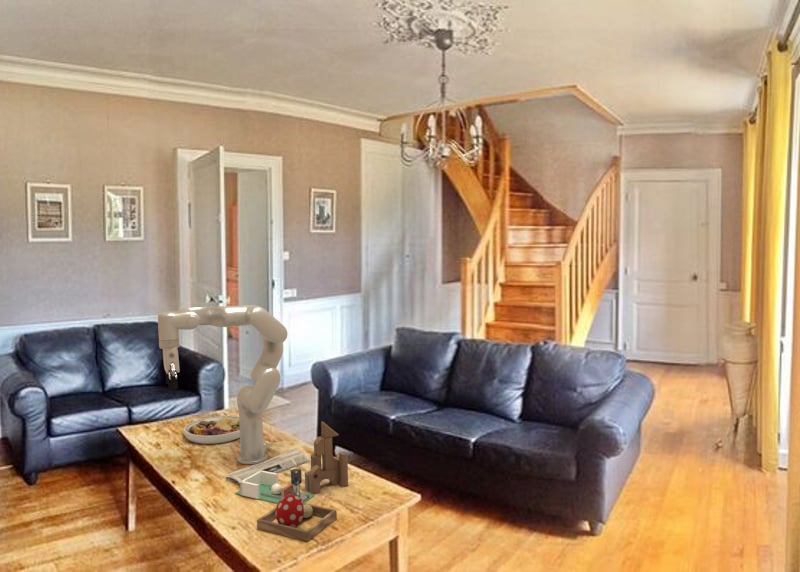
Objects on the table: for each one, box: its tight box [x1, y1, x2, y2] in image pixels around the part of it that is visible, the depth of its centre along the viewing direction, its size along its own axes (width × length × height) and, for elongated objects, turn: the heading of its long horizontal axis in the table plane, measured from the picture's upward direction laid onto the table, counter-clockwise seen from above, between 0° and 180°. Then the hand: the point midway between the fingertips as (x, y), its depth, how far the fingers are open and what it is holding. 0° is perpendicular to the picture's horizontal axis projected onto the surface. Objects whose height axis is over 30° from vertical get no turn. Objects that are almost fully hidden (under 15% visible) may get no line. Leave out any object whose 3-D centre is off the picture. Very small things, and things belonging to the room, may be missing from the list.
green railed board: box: [234, 484, 316, 504], centre depth 232 cm, size 11×28×1 cm, turn 64°
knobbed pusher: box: [281, 468, 307, 501], centre depth 227 cm, size 6×8×10 cm
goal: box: [239, 470, 279, 500], centre depth 235 cm, size 12×8×5 cm, turn 154°
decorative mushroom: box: [275, 494, 313, 528], centre depth 210 cm, size 11×11×15 cm
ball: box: [271, 482, 283, 495], centre depth 231 cm, size 4×4×4 cm
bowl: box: [183, 415, 240, 445], centre depth 300 cm, size 30×30×8 cm
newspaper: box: [225, 447, 311, 486], centre depth 257 cm, size 35×12×4 cm, turn 138°
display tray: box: [256, 502, 337, 542], centre depth 209 cm, size 17×20×3 cm
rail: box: [261, 487, 312, 503], centre depth 230 cm, size 6×18×1 cm, turn 64°
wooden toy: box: [304, 421, 349, 495], centre depth 237 cm, size 16×7×25 cm, turn 120°
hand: (171, 386), depth 248 cm, fingers open, 9 cm apart
